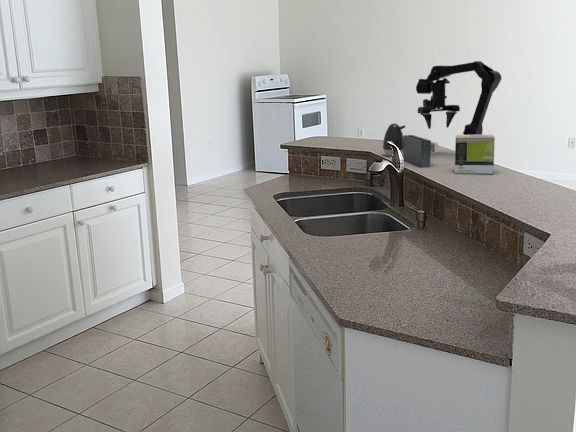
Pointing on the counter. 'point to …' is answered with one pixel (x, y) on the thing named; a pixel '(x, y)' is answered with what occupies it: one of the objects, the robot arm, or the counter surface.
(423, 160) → the button panel
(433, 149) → the ivory button
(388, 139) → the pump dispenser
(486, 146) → the tea box
